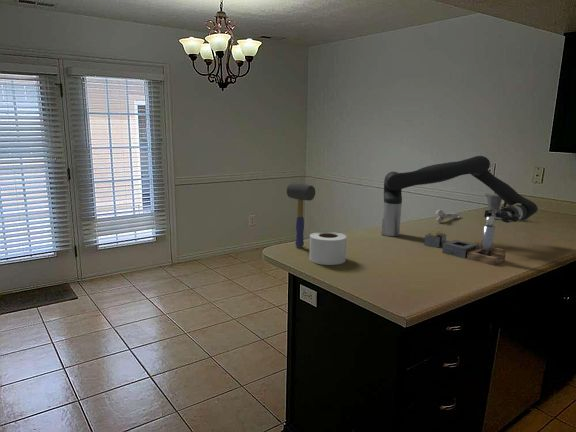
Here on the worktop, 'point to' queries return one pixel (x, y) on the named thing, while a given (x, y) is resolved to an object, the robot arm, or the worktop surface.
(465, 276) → the worktop surface
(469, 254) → the brown hollowed block
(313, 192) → the rubber mallet
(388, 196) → the robot arm
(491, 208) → the coffeepot
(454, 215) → the wrench
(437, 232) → the tan flat block
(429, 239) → the guide
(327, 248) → the white toilet paper roll
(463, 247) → the socket block
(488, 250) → the metal spray bottle
